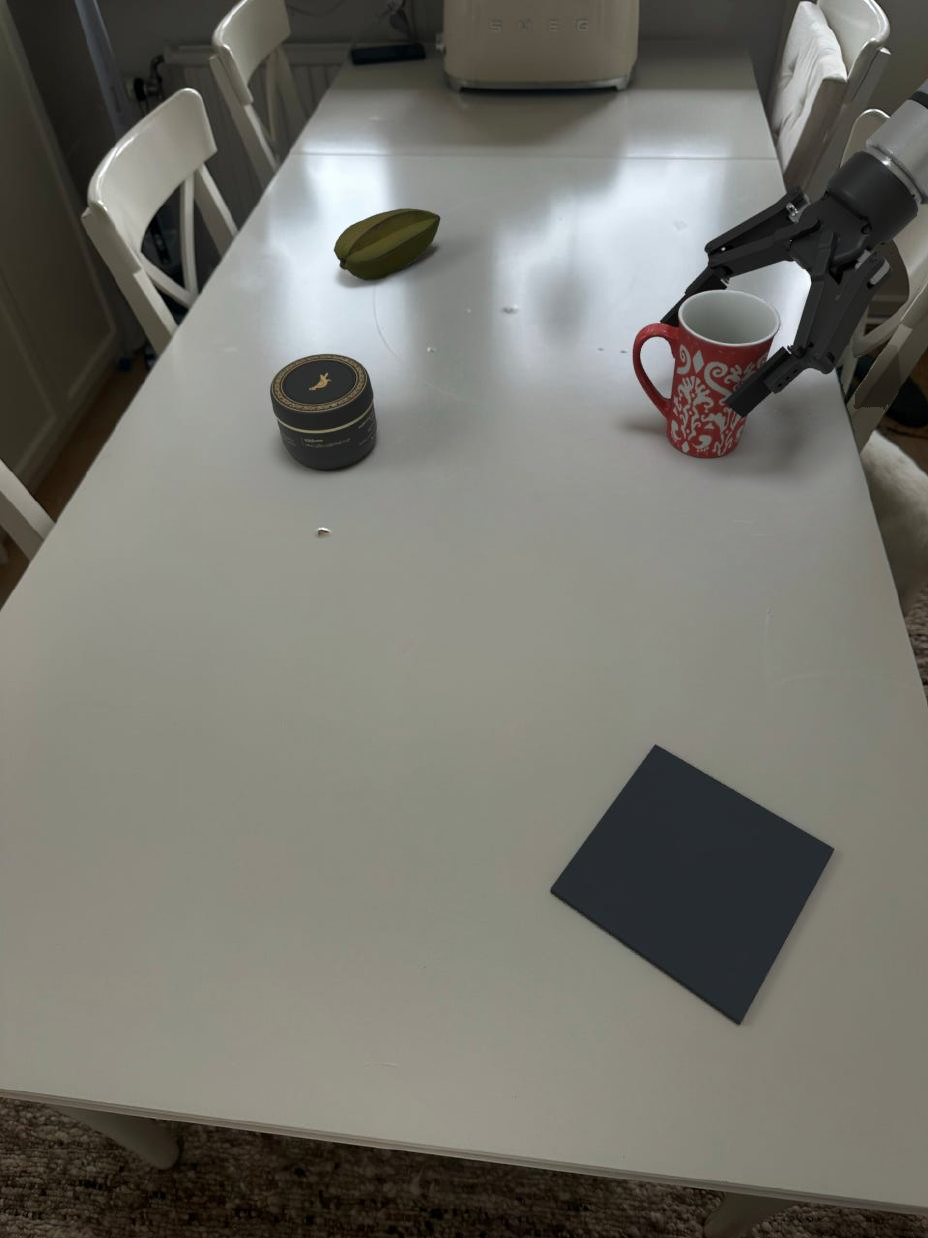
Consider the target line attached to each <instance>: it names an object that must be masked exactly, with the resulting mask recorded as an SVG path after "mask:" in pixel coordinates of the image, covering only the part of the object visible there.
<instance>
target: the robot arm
mask: <svg viewBox="0 0 928 1238" xmlns="http://www.w3.org/2000/svg"><path fill="white" fill-rule="evenodd" d="M865 146H866V151H864V150H859V151H855V152H854V153H853V154H852V155H851V156H850V157H849V158H848V159H847V160H846V161H845V162H844V163H843V165H841V167H839V169H837V170H836V171H835V173H834V174H832V176H831V177H829V179H827V181H826V183H825V191H824V193H823V195H822V196H821V197H820V198H819V199H817V200H816V201H814V202H812V200H811V198H809V196H808V195H807V194H806V192H805V191H804V190H803V188H802V187H801V186H800V185H795V186H794V187H792V188H791V189H789V190H788V191H787V192H786V193H785V194H784V195H783V196H782V197H781V198H780V199H778V200H777V201H776V202H775V203H773V204H772V205H770V206H768V207H766V208H765V209H762V210H761V211H760V212H758V213H756V214H755V215H752V216H750V217H749V218H748V219H746V220H744V221H742V222H741V223H739V224H737V225H736V226H734V227H732V228H731V229H728V230H727V231H725V232H723V233H722V234H720V235H718V236H716V237H715V238H713V239H711V240H710V241H708V242H707V243H706V244H705V246H704V248H703V249H704V252H705V254H706V255H707V259H708V261H707V266H706V267H705V269H703V270H702V271H701V272H700V274H699V275H697V277H696V278H695V279H694V280H693V281H692V283H690V284H689V285H688V286H687V287H686V289H685V290H684V292H683V294H684V295H683V296H682V297H681V298H680V299H679V300H678V301H677V302H676V303H675V304H674V305H673V306H672V307H671V308H670V309H669V311H668V312H667V313H666V314H665V315H664V316H663V317H662V318H661V319H660V320H659V323H663V324H667V325H670V326H672V327H677V328H679V319H678V311H679V308H680V306H681V305H682V303H683V302H684V301H685V300H686V299H688V298H689V297H691V296H693V295H695V294H698V293H701V292H705V291H712V290H727V288H728V286H727V285H729V284H730V281H731V278H734V277H738V276H740V275H741V276H742V275H744V274H747V273H751V272H754V271H757V270H760V269H763V268H766V267H769V266H772V265H775V264H778V263H779V264H780V263H782V262H788V263H793V262H795V263H796V264H797V265H798V266H799V267H800V268H801V269H802V270H805V271H806V272H807V274H808V275H809V279H810V286H809V289H808V293H807V296H806V300H805V302H804V305H803V310H802V312H801V316H800V319H799V322H798V325H797V329H796V333H795V336H794V340H793V343H792V344H790V345H786V347H784V345H783V346H781V347H779V349H778V350H777V351H776V352H774V354H772V355H771V356H770V357H769V358H767V360H766V362H765V363H764V364H763V365H762V366H761V367H760V368H759V369H758V370H757V371H756V372H755V373H753V374H752V375H751V376H750V377H749V378H748V379H747V380H746V381H745V382H744V383H743V384H742V385H741V386H740V387H739V388H738V389H737V390H736V391H734V392H733V393H732V394H731V395H730V396H729V397H728V398H727V399H726V400H725V403H726V404H727V405H728V406H729V407H730V408H731V409H732V410H734V411H735V412H736V413H737V414H738V415H740V416H741V417H742V418H744V417H745V416H747V417H748V415H749V414H750V413H751V412H752V411H754V409H756V407H758V406H759V405H760V404H761V403H762V402H763V401H764V400H765V399H766V398H768V396H769V395H771V394H772V393H773V394H774V395H777V394H779V393H780V392H782V391H783V390H784V389H785V388H786V387H788V385H790V383H792V382H793V381H794V380H795V379H796V378H797V377H799V375H801V374H802V373H803V372H804V371H805V370H808V369H813V370H816V371H819V372H820V373H821V374H822V375H829V374H831V373H832V372H833V371H835V368H836V366H837V365H838V363H839V361H840V359H841V357H842V355H843V354H844V351H845V350H846V348H847V346H848V344H849V342H850V340H852V339H851V338H852V336H853V335H854V333H855V331H856V330H857V328H858V325H859V324H860V322H861V320H862V318H863V317H864V314H865V313H866V311H867V309H868V307H869V305H870V304H871V301H872V300H873V298H874V296H875V294H876V293H877V292H878V291H879V290H880V289H881V288H882V287H883V285H884V284H885V283H886V282H888V280H889V279H890V278H891V277H892V276H893V273H894V269H893V268H892V267H891V265H890V263H889V262H888V261H887V259H886V258H885V257H884V256H883V254H882V253H881V252H880V251H875V249H876V248H877V247H878V246H886V245H888V244H890V242H891V241H893V240H894V238H896V237H897V236H898V235H899V234H900V233H901V232H902V231H903V230H904V229H905V228H906V227H907V226H908V225H909V224H910V223H911V222H913V221H914V219H915V218H917V216H918V212H919V205H921V206H922V205H923V206H924V205H925V206H926V205H927V206H928V78H927V79H926V80H925V81H924V82H923V83H921V85H920V86H919V87H918V88H917V89H916V90H915V91H914V92H913V94H912V95H911V96H910V97H908V99H906V100H905V101H904V102H903V103H902V104H901V105H900V106H899V107H898V108H897V109H896V110H895V111H894V112H893V113H892V115H890V116H889V117H888V118H887V119H886V120H885V121H884V122H883V123H882V124H881V125H880V126H879V127H878V128H877V129H876V130H875V131H874V132H873V133H872V134H871V135H870V136H869V137H868V138H867V139H866V142H865ZM850 271H854V272H853V274H852V275H851V276H850V278H849V280H848V281H847V282H846V284H845V287H844V282H845V280H846V277H847V273H848V272H850ZM726 284H727V285H726ZM843 287H844V288H843ZM842 290H843V291H842ZM838 296H839V298H838V300H837V301H836V299H837V297H838Z"/></svg>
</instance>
